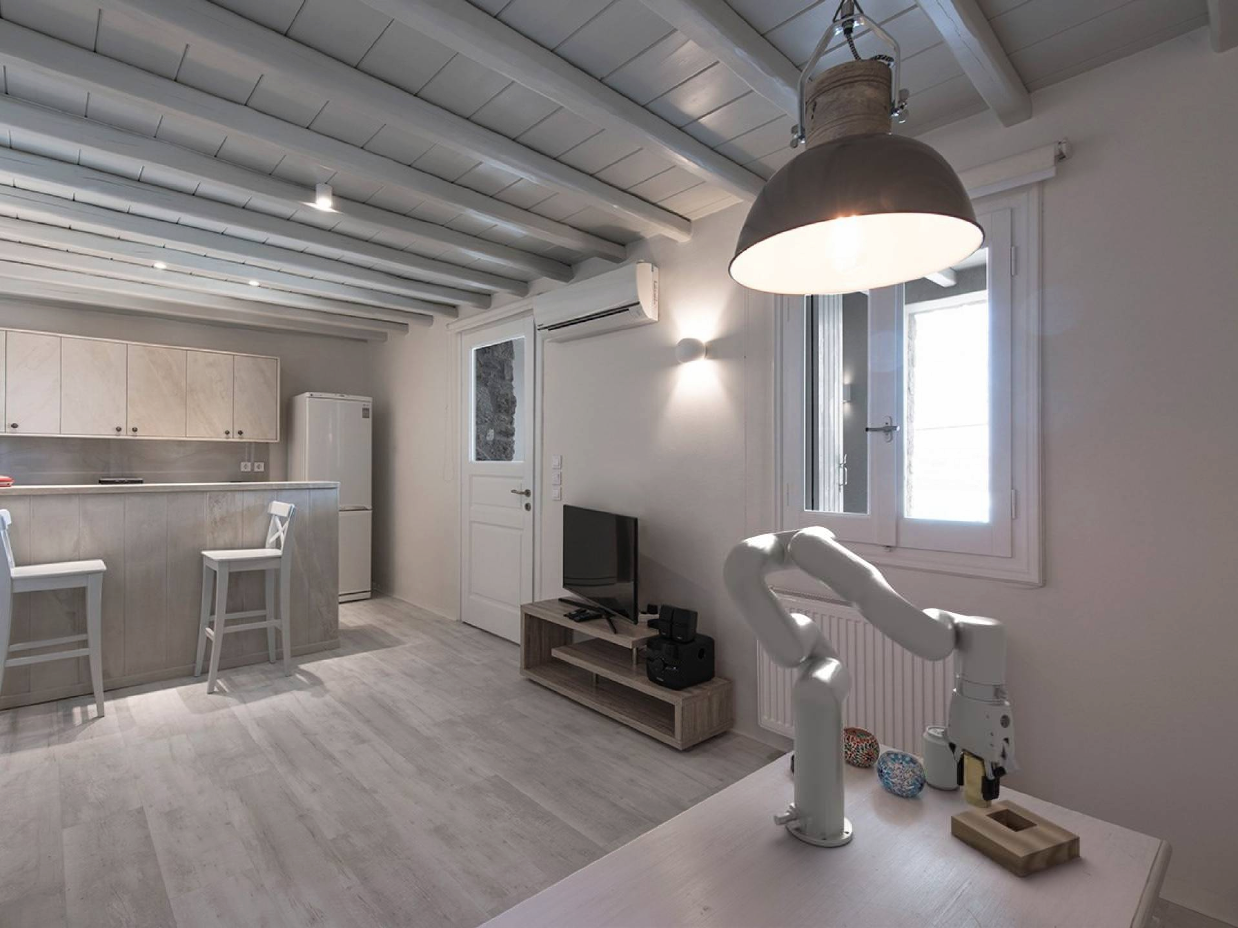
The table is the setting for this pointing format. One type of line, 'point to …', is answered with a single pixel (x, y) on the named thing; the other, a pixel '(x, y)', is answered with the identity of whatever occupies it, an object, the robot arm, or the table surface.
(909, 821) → the table surface
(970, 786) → the bushing
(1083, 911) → the table surface
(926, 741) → the can
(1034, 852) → the block
